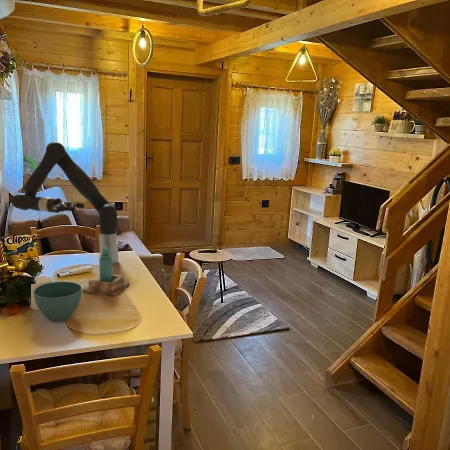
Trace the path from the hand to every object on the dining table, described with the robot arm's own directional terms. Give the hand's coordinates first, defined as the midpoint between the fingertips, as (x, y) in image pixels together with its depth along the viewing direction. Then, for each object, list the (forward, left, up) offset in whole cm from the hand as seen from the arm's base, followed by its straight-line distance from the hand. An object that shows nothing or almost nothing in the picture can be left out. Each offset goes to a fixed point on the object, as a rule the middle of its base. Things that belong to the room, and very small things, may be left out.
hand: (79, 207), depth 227 cm
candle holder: (+36, +18, -36) cm, 54 cm away
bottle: (+4, +23, -35) cm, 42 cm away
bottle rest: (+4, +23, -36) cm, 43 cm away
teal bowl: (+38, +33, -36) cm, 62 cm away
